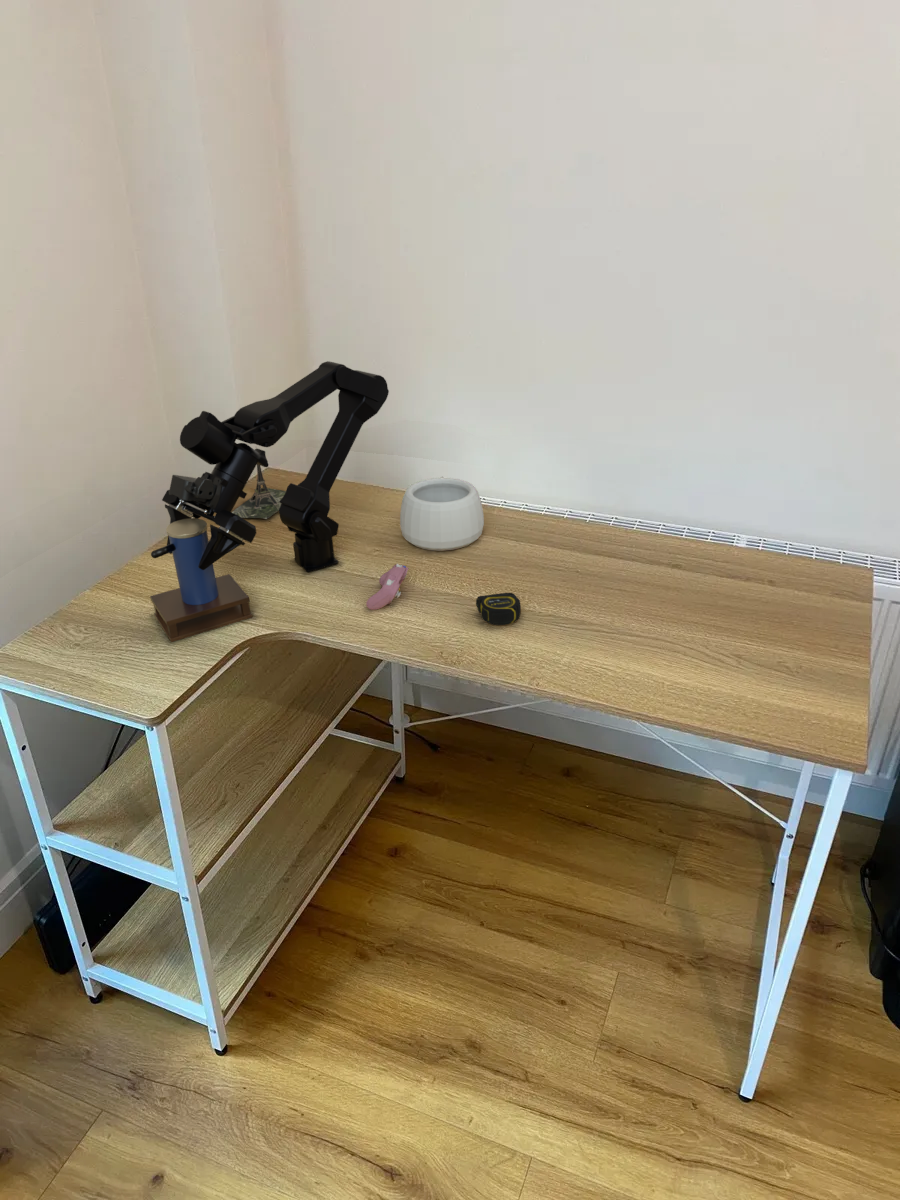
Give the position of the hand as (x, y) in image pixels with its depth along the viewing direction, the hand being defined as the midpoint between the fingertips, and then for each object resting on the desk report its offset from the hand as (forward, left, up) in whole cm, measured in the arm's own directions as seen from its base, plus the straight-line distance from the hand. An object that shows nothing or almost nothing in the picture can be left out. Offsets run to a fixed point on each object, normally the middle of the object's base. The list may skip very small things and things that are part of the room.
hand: (184, 560), depth 141 cm
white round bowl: (-53, -6, -12) cm, 54 cm away
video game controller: (-31, +12, -12) cm, 35 cm away
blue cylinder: (0, 0, -7) cm, 7 cm away
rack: (-1, 0, -11) cm, 12 cm away
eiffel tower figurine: (-28, -39, -12) cm, 49 cm away
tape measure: (-43, +28, -12) cm, 53 cm away
